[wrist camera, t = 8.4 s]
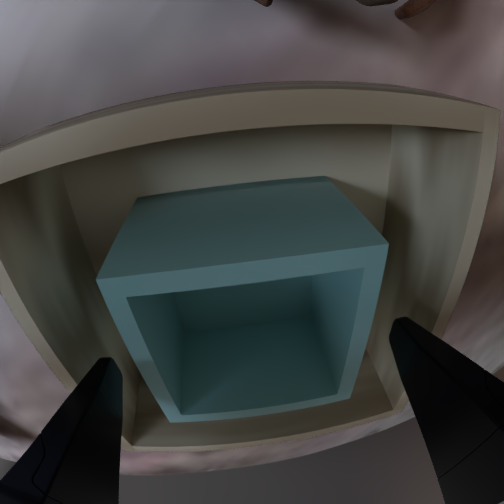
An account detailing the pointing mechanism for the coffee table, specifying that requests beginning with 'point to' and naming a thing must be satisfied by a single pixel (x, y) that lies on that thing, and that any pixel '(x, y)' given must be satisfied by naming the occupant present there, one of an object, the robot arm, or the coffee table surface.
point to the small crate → (245, 296)
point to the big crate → (234, 172)
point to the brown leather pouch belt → (415, 5)
